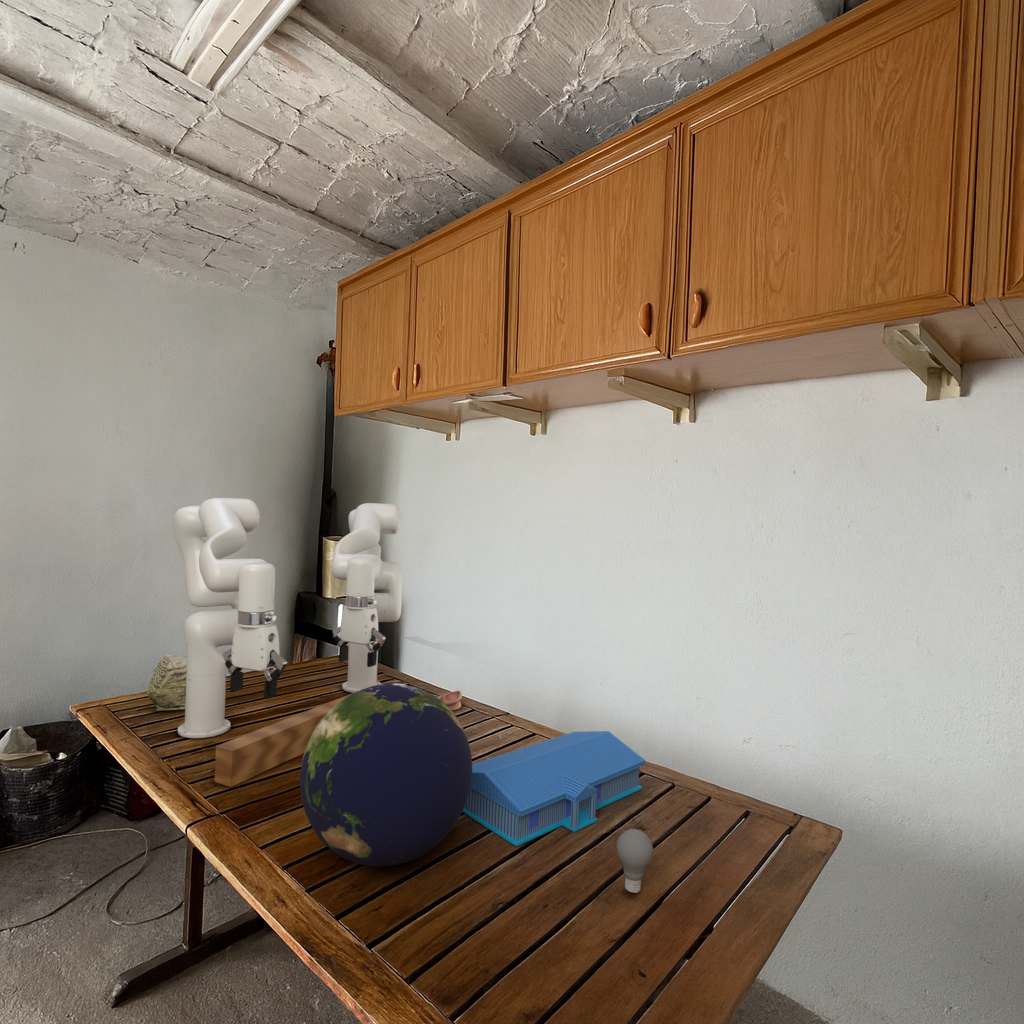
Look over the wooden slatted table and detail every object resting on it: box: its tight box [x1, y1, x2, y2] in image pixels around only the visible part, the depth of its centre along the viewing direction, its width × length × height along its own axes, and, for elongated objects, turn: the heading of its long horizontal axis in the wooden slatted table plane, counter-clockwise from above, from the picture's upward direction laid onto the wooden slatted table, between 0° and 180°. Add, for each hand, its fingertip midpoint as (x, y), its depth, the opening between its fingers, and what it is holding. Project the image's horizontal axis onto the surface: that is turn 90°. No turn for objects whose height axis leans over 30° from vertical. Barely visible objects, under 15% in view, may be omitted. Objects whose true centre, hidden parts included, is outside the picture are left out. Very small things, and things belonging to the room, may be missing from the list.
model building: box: [462, 730, 646, 847], centre depth 137 cm, size 39×24×10 cm, turn 132°
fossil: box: [147, 654, 187, 712], centre depth 185 cm, size 9×18×15 cm, turn 132°
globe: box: [299, 683, 473, 868], centre depth 113 cm, size 30×30×30 cm
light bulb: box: [615, 828, 654, 894], centre depth 106 cm, size 6×6×10 cm
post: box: [214, 692, 353, 788], centre depth 161 cm, size 52×5×8 cm, turn 154°
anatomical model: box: [436, 690, 463, 711], centre depth 194 cm, size 13×4×12 cm
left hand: (253, 694), depth 142 cm, fingers open, 9 cm apart
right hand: (357, 663), depth 176 cm, fingers open, 9 cm apart
